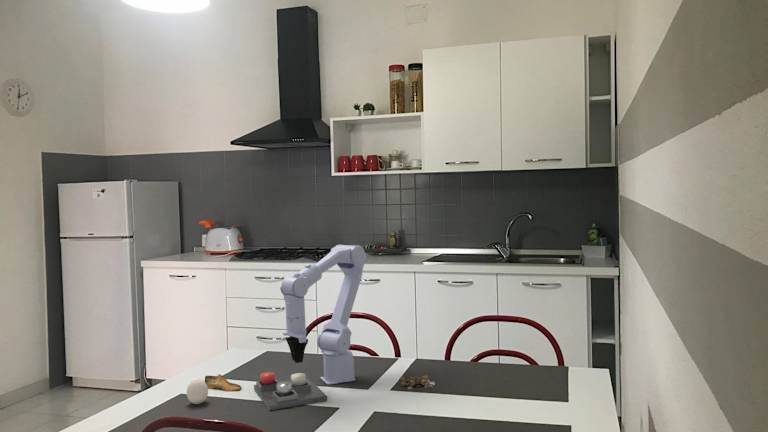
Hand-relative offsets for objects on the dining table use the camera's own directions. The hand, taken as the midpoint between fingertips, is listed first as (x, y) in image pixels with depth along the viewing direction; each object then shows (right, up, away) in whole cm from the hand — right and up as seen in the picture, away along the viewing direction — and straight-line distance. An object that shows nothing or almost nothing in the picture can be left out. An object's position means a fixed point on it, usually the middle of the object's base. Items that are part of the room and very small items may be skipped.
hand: (297, 361), depth 197 cm
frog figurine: (+36, -9, +5) cm, 38 cm away
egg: (-29, -12, -5) cm, 31 cm away
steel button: (-3, -7, -8) cm, 11 cm away
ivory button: (0, -7, 0) cm, 7 cm away
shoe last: (-25, -11, +9) cm, 28 cm away
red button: (-9, -7, +3) cm, 12 cm away
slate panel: (-2, -10, -1) cm, 10 cm away
